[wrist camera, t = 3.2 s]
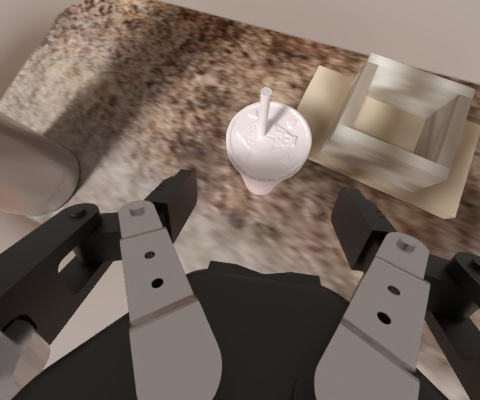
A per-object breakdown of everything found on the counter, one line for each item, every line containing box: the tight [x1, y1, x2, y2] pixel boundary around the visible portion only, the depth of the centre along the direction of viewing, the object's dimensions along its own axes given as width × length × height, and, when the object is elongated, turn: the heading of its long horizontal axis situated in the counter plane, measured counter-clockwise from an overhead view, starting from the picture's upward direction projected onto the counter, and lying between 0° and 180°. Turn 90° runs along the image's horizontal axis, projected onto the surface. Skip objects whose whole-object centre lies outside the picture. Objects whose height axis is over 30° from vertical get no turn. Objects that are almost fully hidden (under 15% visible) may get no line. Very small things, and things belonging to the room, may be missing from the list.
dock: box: [296, 53, 480, 219], centre depth 23 cm, size 20×12×5 cm, turn 63°
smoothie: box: [226, 88, 312, 195], centre depth 18 cm, size 6×6×14 cm
